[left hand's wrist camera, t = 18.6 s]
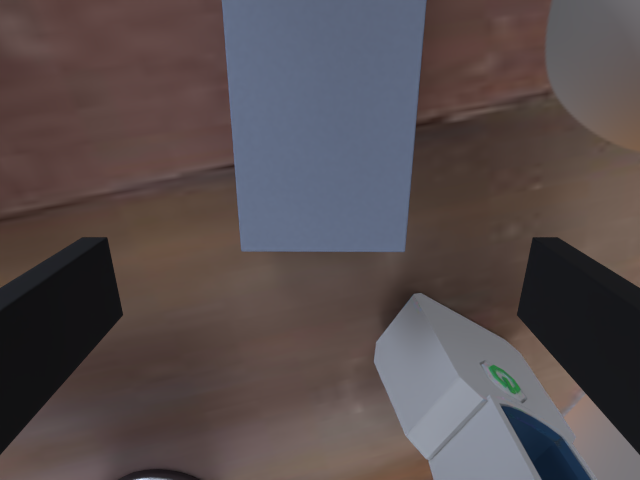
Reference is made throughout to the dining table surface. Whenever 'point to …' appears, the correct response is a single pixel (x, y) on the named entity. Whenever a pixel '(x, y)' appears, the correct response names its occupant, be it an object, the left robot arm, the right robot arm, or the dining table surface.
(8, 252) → the dining table surface
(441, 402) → the electronic device
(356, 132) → the cabinet
